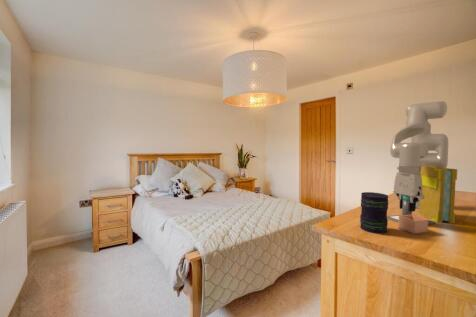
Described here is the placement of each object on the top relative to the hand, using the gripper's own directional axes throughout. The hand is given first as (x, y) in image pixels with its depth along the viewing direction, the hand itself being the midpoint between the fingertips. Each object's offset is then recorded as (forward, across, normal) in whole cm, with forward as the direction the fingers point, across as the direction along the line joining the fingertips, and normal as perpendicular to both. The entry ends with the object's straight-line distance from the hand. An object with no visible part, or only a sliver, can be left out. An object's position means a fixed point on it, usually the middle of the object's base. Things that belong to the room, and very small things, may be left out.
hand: (407, 209), depth 101 cm
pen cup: (+6, +8, -7) cm, 13 cm away
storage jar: (+6, +3, -22) cm, 23 cm away
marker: (+4, 0, 0) cm, 4 cm away
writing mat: (+6, -2, +4) cm, 7 cm away
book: (+7, -3, +21) cm, 22 cm away
